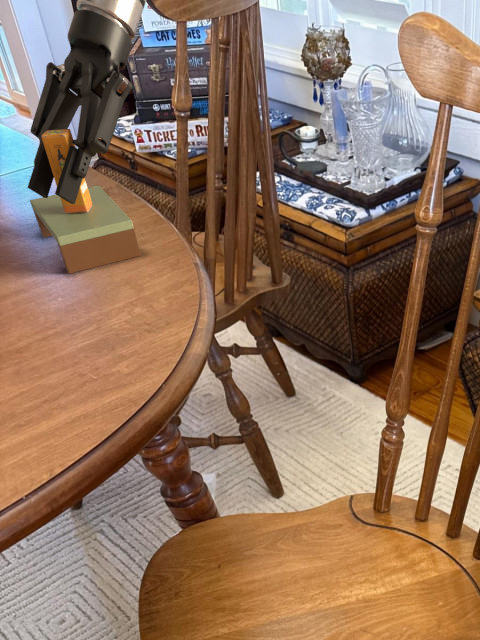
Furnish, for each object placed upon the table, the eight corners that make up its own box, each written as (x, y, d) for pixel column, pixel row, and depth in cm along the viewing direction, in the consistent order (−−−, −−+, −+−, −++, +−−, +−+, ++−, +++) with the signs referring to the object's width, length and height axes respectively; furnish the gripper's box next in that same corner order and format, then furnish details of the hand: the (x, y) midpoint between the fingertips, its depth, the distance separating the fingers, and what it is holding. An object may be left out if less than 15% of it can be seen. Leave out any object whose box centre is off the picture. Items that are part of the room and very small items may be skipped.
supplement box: (94, 203, 110) (72, 127, 103) (88, 213, 108) (65, 135, 101) (70, 204, 110) (46, 128, 103) (64, 214, 108) (39, 136, 101)
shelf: (41, 234, 115) (29, 199, 112) (108, 218, 119) (98, 185, 116) (69, 273, 105) (56, 237, 102) (141, 255, 109) (131, 219, 106)
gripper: (173, 50, 103) (118, 219, 104) (78, 39, 110) (28, 199, 111) (134, 10, 96) (76, 192, 97) (36, 1, 103) (-18, 172, 104)
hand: (51, 195), depth 104 cm, fingers open, 4 cm apart
